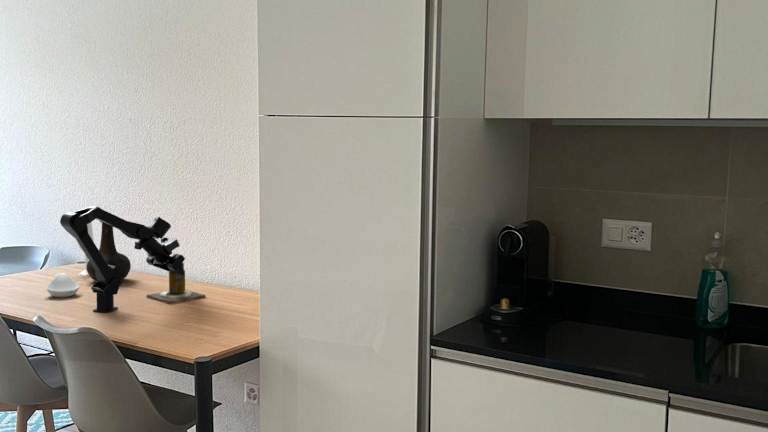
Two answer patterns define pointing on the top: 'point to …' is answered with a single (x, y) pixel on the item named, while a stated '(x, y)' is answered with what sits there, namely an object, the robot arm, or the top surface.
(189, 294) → the brown flat square slab
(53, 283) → the spoon rest
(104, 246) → the glass bottle
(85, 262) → the champagne flute
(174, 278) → the condiment
